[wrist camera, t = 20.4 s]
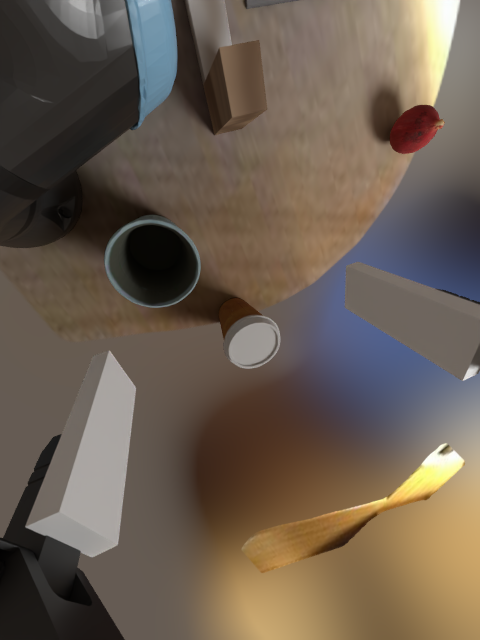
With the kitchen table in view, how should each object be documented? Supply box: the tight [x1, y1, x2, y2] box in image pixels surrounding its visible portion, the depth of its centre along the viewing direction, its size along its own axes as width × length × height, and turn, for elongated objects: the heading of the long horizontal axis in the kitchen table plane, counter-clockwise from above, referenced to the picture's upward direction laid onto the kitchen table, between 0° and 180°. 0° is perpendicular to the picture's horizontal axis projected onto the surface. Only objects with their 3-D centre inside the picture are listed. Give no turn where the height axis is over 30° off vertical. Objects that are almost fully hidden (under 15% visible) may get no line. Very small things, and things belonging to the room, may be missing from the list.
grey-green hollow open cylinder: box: [104, 215, 200, 308], centre depth 31 cm, size 10×10×12 cm
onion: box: [390, 105, 445, 154], centre depth 35 cm, size 6×6×8 cm
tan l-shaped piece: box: [184, 0, 267, 135], centre depth 23 cm, size 4×19×9 cm, turn 13°
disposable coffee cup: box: [219, 298, 280, 368], centre depth 40 cm, size 10×10×12 cm
